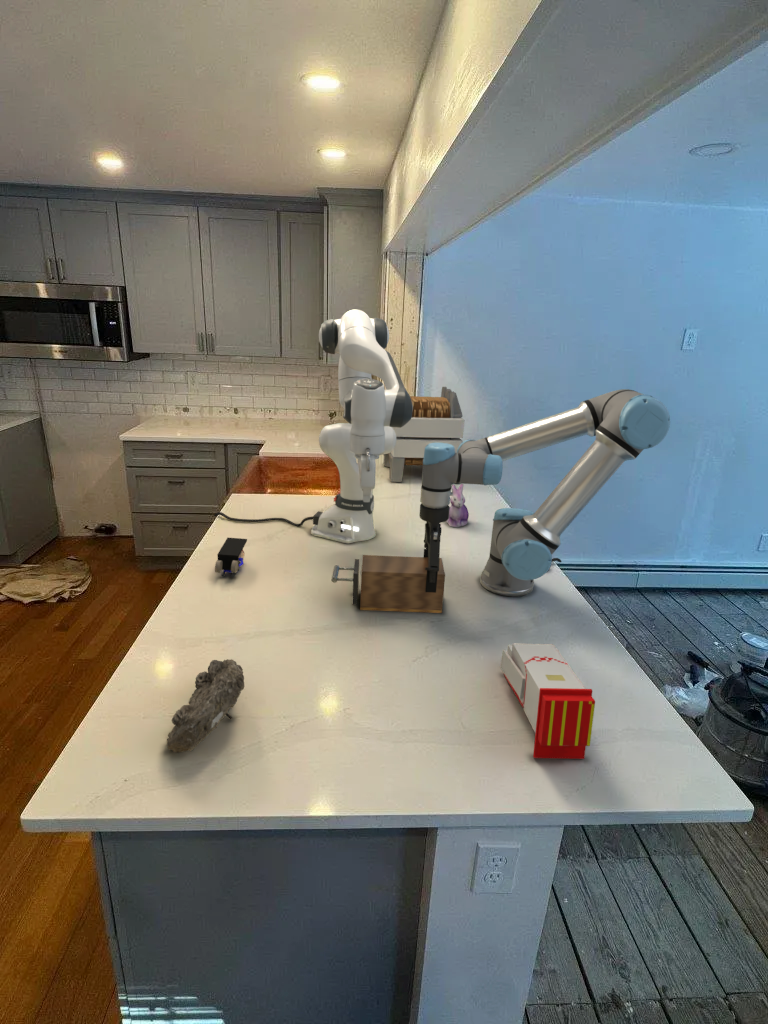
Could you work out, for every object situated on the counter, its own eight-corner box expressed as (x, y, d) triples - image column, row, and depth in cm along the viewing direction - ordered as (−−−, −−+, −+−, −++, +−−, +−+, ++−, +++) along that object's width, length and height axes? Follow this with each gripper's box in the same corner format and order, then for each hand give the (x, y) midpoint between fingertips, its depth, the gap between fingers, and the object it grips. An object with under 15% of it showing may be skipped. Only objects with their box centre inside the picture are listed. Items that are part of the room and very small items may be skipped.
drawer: (330, 604, 149) (331, 572, 146) (333, 588, 157) (334, 558, 154) (428, 607, 149) (431, 576, 146) (426, 591, 158) (428, 561, 155)
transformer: (382, 463, 289) (386, 382, 275) (445, 464, 293) (451, 384, 279) (390, 482, 257) (394, 392, 243) (460, 483, 261) (468, 394, 247)
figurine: (454, 529, 206) (457, 490, 201) (439, 520, 214) (442, 482, 209) (475, 526, 210) (479, 487, 205) (459, 517, 218) (463, 479, 213)
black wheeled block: (238, 584, 162) (249, 557, 175) (236, 562, 158) (247, 536, 172) (215, 584, 161) (227, 556, 175) (212, 561, 158) (225, 535, 171)
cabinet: (360, 609, 149) (361, 571, 145) (361, 591, 158) (362, 554, 155) (441, 613, 149) (445, 574, 145) (438, 594, 159) (441, 557, 155)
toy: (549, 626, 126) (605, 697, 97) (544, 681, 129) (596, 766, 100) (495, 625, 126) (534, 696, 96) (491, 680, 128) (528, 765, 99)
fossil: (192, 660, 117) (244, 628, 112) (224, 691, 120) (276, 661, 115) (142, 746, 98) (202, 712, 93) (182, 779, 101) (242, 748, 96)
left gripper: (382, 454, 136) (380, 508, 140) (377, 436, 155) (375, 485, 160) (355, 453, 135) (354, 508, 140) (354, 436, 155) (353, 484, 159)
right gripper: (455, 521, 133) (447, 603, 140) (445, 490, 155) (439, 562, 163) (423, 519, 133) (417, 602, 140) (417, 489, 155) (412, 561, 163)
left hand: (365, 495), depth 150 cm, fingers open, 8 cm apart
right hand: (428, 581), depth 152 cm, fingers open, 11 cm apart
